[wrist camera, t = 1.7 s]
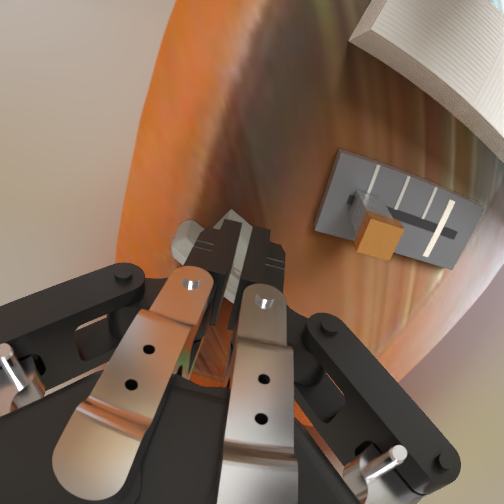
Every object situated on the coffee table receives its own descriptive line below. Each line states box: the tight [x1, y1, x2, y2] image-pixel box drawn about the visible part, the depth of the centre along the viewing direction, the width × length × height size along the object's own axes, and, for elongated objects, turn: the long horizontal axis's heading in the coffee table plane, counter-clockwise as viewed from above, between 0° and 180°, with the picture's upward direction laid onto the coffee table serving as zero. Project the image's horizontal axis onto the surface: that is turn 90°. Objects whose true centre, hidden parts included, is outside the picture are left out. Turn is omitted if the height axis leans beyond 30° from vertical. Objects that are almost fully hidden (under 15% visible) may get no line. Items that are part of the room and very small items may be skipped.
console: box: [314, 148, 484, 270], centre depth 36 cm, size 10×21×2 cm, turn 78°
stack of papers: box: [348, 0, 504, 163], centre depth 22 cm, size 32×11×11 cm, turn 65°
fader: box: [348, 190, 405, 261], centre depth 31 cm, size 4×4×8 cm
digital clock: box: [171, 209, 253, 304], centre depth 38 cm, size 16×9×11 cm, turn 36°
